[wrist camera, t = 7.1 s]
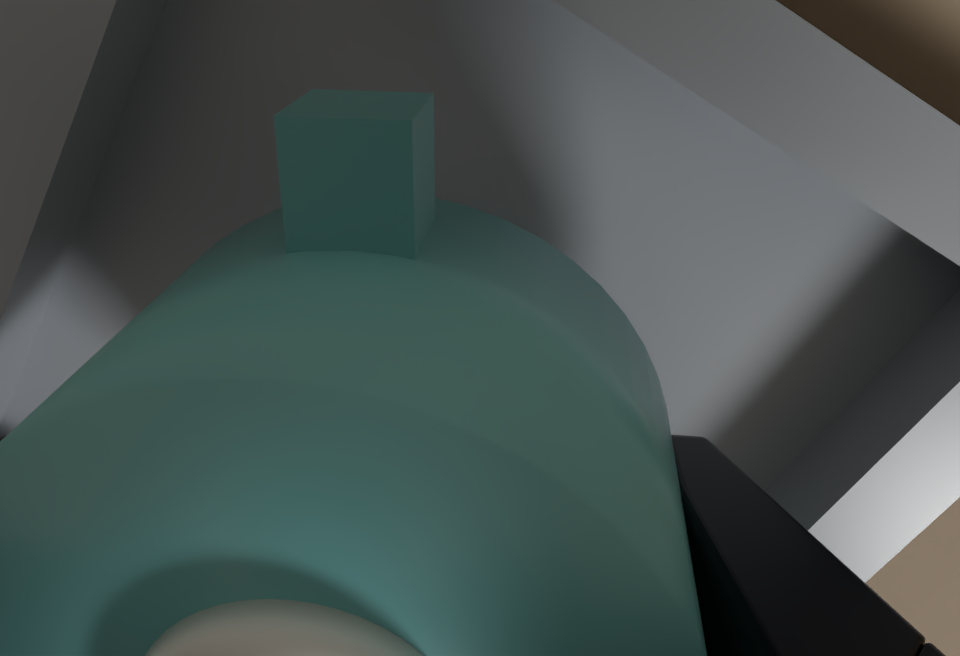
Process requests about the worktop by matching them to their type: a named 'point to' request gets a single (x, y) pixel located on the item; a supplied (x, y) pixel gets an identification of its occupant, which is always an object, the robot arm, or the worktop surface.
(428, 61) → the tray
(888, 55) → the worktop surface
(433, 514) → the teal rounded toy
